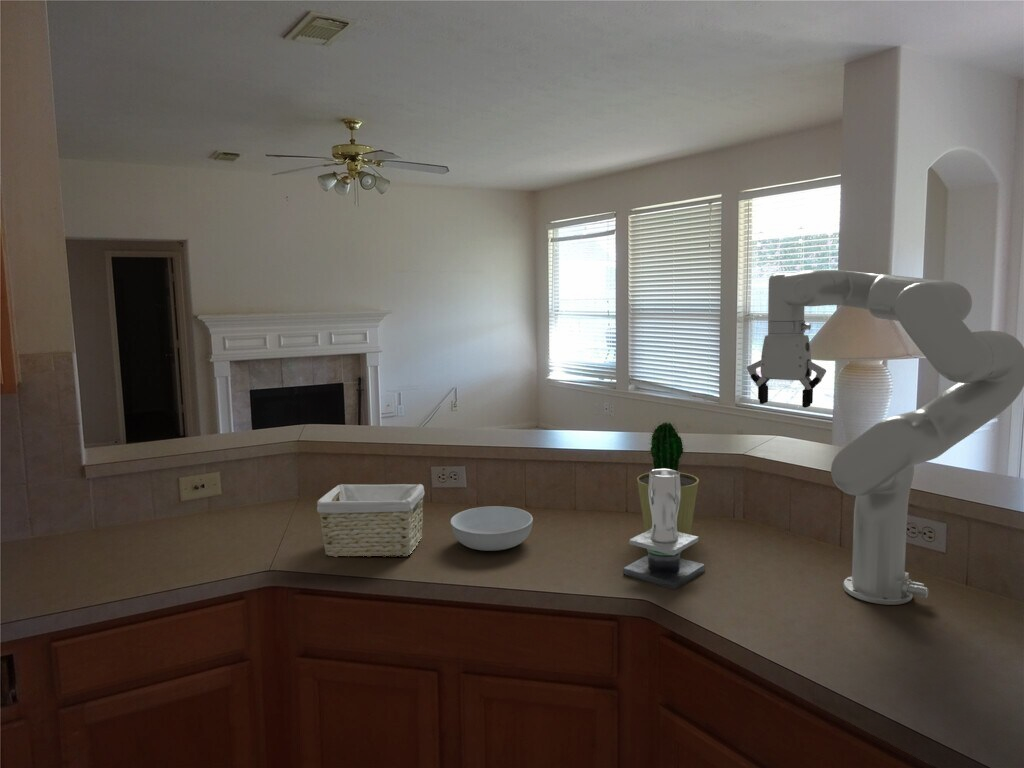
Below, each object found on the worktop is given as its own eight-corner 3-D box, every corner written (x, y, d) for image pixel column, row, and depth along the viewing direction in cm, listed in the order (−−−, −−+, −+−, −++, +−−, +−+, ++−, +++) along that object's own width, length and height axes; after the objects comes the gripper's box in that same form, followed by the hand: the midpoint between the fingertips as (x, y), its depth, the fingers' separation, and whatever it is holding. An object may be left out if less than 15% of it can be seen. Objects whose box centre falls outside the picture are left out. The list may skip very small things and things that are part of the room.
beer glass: (681, 544, 153) (681, 476, 151) (648, 543, 155) (648, 476, 153) (679, 533, 160) (680, 468, 158) (648, 532, 161) (648, 468, 159)
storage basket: (317, 559, 173) (313, 500, 171) (340, 536, 189) (337, 482, 187) (413, 560, 171) (410, 501, 169) (428, 537, 187) (425, 482, 185)
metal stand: (704, 570, 159) (704, 536, 158) (674, 589, 149) (674, 553, 148) (654, 557, 168) (654, 524, 166) (623, 574, 158) (622, 540, 157)
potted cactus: (701, 546, 174) (702, 426, 170) (638, 544, 176) (637, 426, 172) (695, 525, 189) (696, 414, 185) (637, 524, 191) (636, 415, 187)
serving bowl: (440, 557, 172) (438, 530, 171) (465, 529, 192) (464, 504, 191) (523, 562, 167) (522, 534, 166) (540, 532, 187) (540, 507, 186)
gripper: (832, 328, 154) (830, 405, 156) (755, 327, 166) (754, 399, 168) (820, 330, 149) (818, 410, 151) (741, 329, 160) (740, 404, 162)
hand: (784, 404), depth 159 cm, fingers open, 9 cm apart
